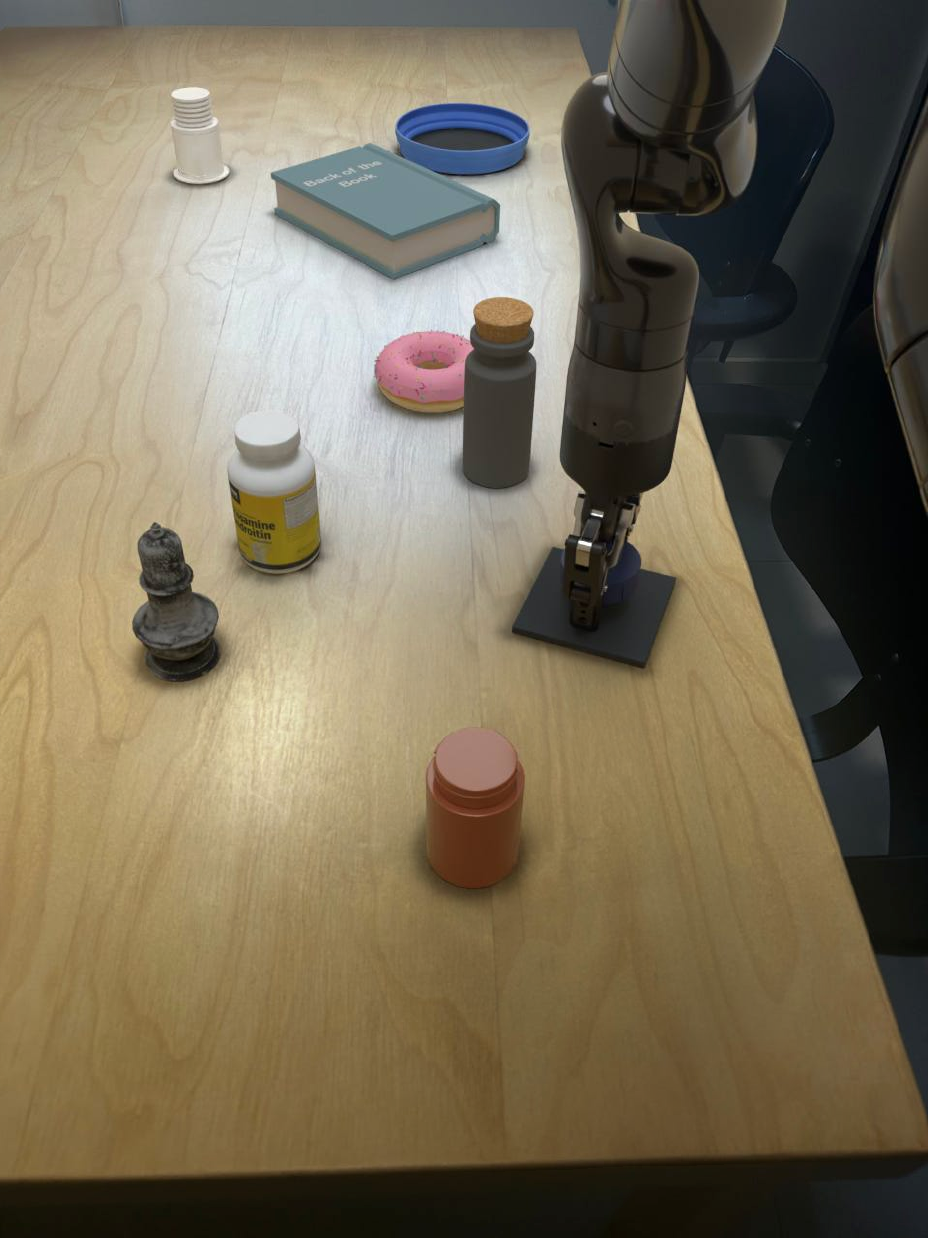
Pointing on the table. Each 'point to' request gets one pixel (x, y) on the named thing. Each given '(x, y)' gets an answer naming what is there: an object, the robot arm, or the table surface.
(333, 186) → the book
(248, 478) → the pill bottle
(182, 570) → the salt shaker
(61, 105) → the table surface
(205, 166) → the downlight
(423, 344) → the doughnut
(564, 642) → the coaster
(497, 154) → the bowl
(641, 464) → the robot arm
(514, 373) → the bottle
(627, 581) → the jar lid
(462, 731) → the jar
